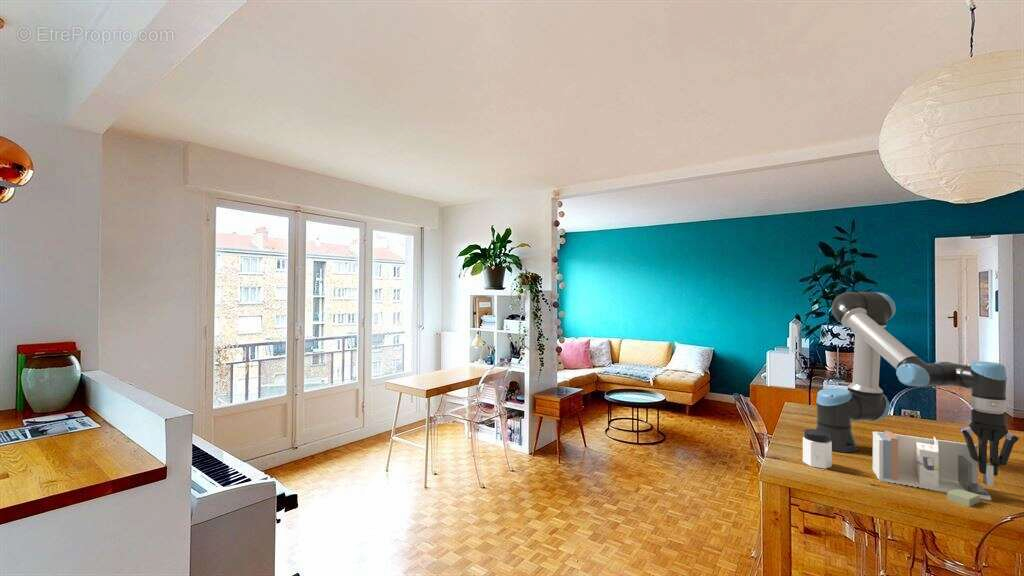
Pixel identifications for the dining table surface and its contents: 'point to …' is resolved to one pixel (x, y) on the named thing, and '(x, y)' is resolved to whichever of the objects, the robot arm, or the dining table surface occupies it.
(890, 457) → the shelf
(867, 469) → the dining table surface
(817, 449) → the jar
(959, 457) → the bookend
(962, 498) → the fallen book
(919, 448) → the ink box
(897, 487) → the dining table surface
